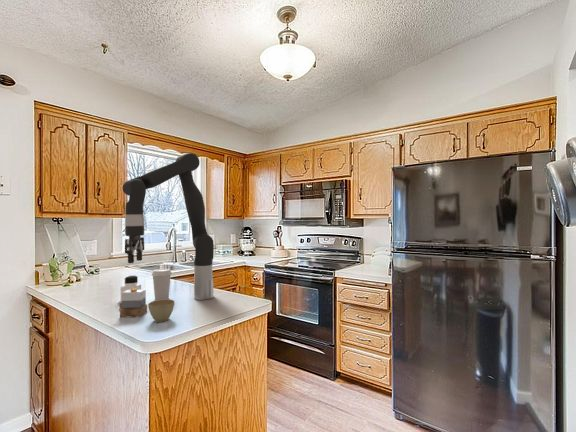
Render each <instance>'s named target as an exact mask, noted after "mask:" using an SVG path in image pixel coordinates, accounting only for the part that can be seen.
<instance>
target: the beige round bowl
mask: <svg viewBox="0 0 576 432" xmlns="http://www.w3.org/2000/svg"><path fill="white" fill-rule="evenodd" d="M174 307H175V300H173V299H164V300H153V301H150V302H148V304H147V308H148V311H149V313H150V316H151V317H152V318H153V320H154V322H156V323H163V322H166V321H168V320H169V319H170V317H171V315H172V314H173V311H174Z"/></svg>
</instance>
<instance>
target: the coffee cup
mask: <svg viewBox="0 0 576 432" xmlns="http://www.w3.org/2000/svg"><path fill="white" fill-rule="evenodd" d="M171 275H172V271H171V269H170V268H158V269H157V268H156V269H153V271H152V273H151V276H152V281H153V283H152V284H153V291H154V301H156V300H164V299H169V297H170V286H171V284H170V283H171ZM169 300H170V299H169Z"/></svg>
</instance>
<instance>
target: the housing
mask: <svg viewBox="0 0 576 432" xmlns="http://www.w3.org/2000/svg"><path fill="white" fill-rule="evenodd" d="M146 295H147V294H146V289H141V290H137V289H131V290H126V291H124V292H122V301H121V302H122V309H141V308H142V307H144V306H145V305H146V302H147V301H146V299H147V296H146Z"/></svg>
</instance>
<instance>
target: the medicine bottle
mask: <svg viewBox="0 0 576 432" xmlns="http://www.w3.org/2000/svg"><path fill="white" fill-rule="evenodd" d="M138 279H139V278H138V276H137V275H127V276H125V277H124V284H123V286H120V302H122V292H124V291H126V290H131V289H137V290H142V284H141V283H140V284H139V283H138Z"/></svg>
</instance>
